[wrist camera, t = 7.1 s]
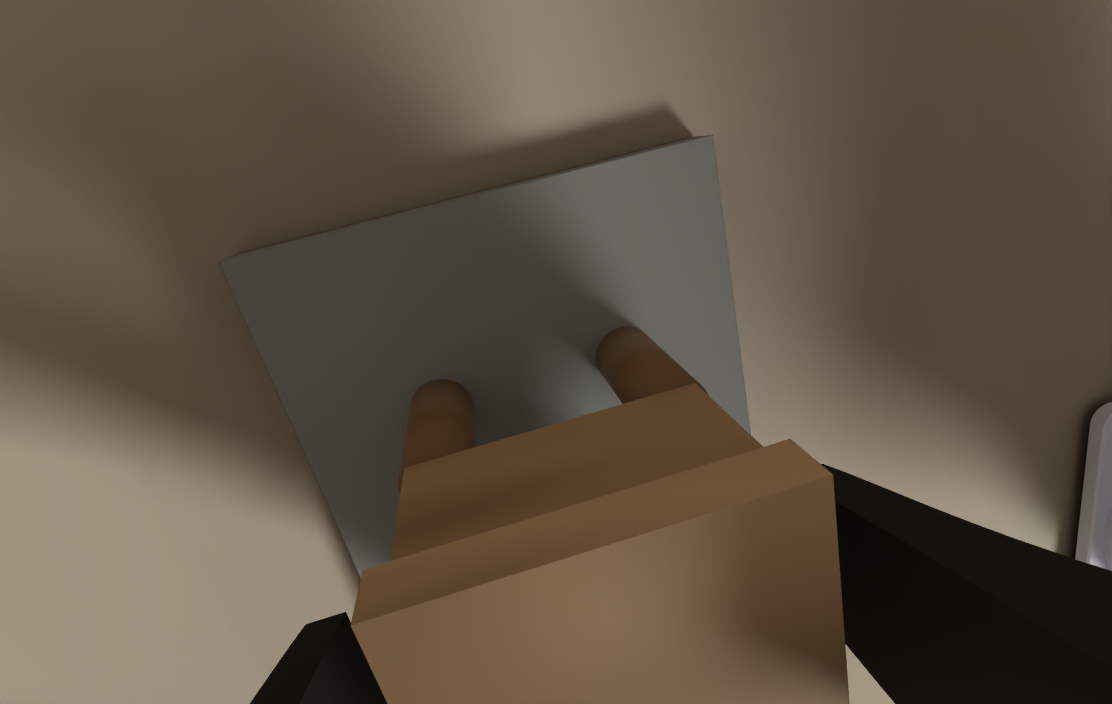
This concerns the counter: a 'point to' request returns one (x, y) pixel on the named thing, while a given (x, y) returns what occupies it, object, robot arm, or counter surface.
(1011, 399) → the counter surface
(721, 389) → the slate mat
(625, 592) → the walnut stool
